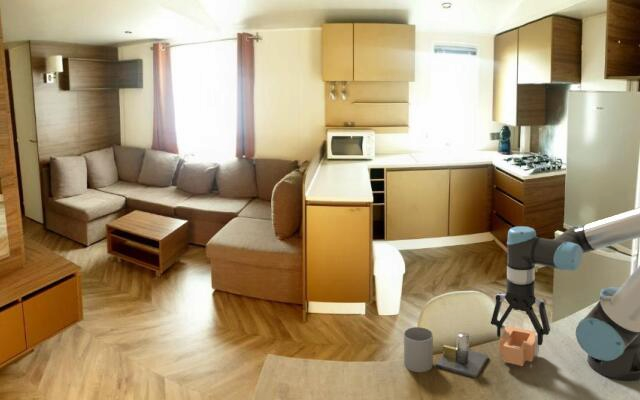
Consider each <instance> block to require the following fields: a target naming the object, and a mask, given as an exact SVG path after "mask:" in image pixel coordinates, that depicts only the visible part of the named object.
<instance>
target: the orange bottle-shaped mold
mask: <svg viewBox="0 0 640 400" xmlns="http://www.w3.org/2000/svg"><path fill="white" fill-rule="evenodd" d="M535 334H536V331H535V330H529V329H524V328H518V327H513V326H508V325H507V327H506V328H505V332H504V334H503V335H502V337H501V339H500V338H499V355H500V356H502V362H504V363H506V364H507V363H509V364H512V365H517V366H521V367H523V366H524V365H525V362H526V361H527V362H530V363H532V362H533V360H534V358H535V356H534V346H535Z"/></svg>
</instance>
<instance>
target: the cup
mask: <svg viewBox="0 0 640 400" xmlns="http://www.w3.org/2000/svg"><path fill="white" fill-rule="evenodd" d="M433 361H434V333H433V332H432V330H430V329H428V328H426V327H421V326H416V327H415V326H413V327H409V328H407V329H406V330H404V332H403V363H404V364H403V366H404V367H405V368H406V369H407V370H409V371H411V372H415V373H425V372H428V371H430V370H431V369H432V368H433V365H434V362H433Z"/></svg>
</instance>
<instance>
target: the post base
mask: <svg viewBox="0 0 640 400" xmlns="http://www.w3.org/2000/svg"><path fill="white" fill-rule="evenodd" d="M469 346H470V335H469V333H467V332H464V331H463V332H462V331H461V332H457V333H456V346H454V345H446V344H444V345H443V346H442V355H441V356H440V358H439V359H438V360H437V362H436V363H435V368H437V369H442V370H444V371H450V372H453V373H456V374H460V375H463V376H467V377H469V378H470V377H472V378H474V379H477V377H478V376H479V374H480V372H482V369H483V368H484V366H485V364H486V362H487V361H488V360H489V354H486V353H481V352H479V351H473V350H470V349H469V348H470V347H469Z"/></svg>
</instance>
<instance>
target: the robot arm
mask: <svg viewBox="0 0 640 400" xmlns="http://www.w3.org/2000/svg"><path fill="white" fill-rule="evenodd" d="M639 238H640V207H637V208H633V209H630V210H627V211H624V212H621V213H618V214H615V215H612V216H608V217H606V218H601V219H599V220H595V221H592V222H590V223H586V224H584V225H576V226H573V227H570V228H567V230H565V231H564V232H563V233H561V234H560V235H558V236H557V237H554V238H553V239H550V238H544V237H539V236H537V232H536V230H535V228H533V227H530V226H521V225H520V226H514V227H511V228H509V230H508V232H507V241H506V247H507V250H506V251H507V252H506V253H507V254H506V256H507V260H506V264H507V265H506V279H507V280H506V293H504V294H502V292H498V293H496V295H495V296H494V297H495V305H494V309H493V312H492V316H491V320H490V324H491V325H492V326H495V327H496V335H497V337H498V338H499V340H500V339H501V337H502V335H503V334H504V332H505V330H506V325H505V324H504V322H505V321H506V319H507V318H508V317H509V315H510V313H511V312H512V311H513V310H514V311H521V312H525V314H526V315H527V316H528V318H529V320H530V322H531V324H532V326H533V328H534V331H535V332H536V334H535V346H534V357H538V355H539V353H540V346H542V344H544V343H543V342H544V335H545V336H548V335H549V333H550V332H551V327H550V323H549V319H548V314H547V310H546V304H547V300H546V299H538V298H536V296H535V278H536V276H535V274H536V273H535V272H536V265H540V266H544V267H547V268H548V267H549V268H553V269H558V270H560V271H569V272H570V271H571V272H575V271H577V270H578V269H579V268H580V265H581V264H582V261H583V254H586V253H589V252H593V251H598V250H599V249H603V248H607V247H610V246H615V245H618V244H622V243H624V242H629V241H632V240H636V239H639ZM504 300H506V302H507V303H508V304H509V305H508V307H507V308H506V310H505V312H504V313H503V314H502V316H501V318H500V319H498V318H499V314H500V311H501V307H502V304H503V302H504ZM533 305H536V307H537V308H538V312H539V317H540V320H541V321H539V318H538V317H537V315H536V313H535V311H534V307H533ZM540 322H541V323H540ZM575 337H576V341H577V343H578V345H579V347H580V348H581V349H582V350H583V352H585V353H586V354H587V359H586V360H587V363H588V366H589V367H590V368H591V369H593V370H594V371H596V372H597V373H599V374H601V375H603V376H605V377H608V378H611V379H615V380H619V381H636V380H640V265H639V266H638V267H637V268H636V269H635V270H634V271H633V272H632V274H631V275H630V276H629V277H628V278H627V279H626V280H625V281H624V283H623V284H621V286H620V287H616V286H609V287H607V286H606V287H604V288H602V289H601V290H600V294H599V301H598V302H597V304H595V306H593V308H592V309H591V310H590V311H589V312H588V314H587V315H586V316H584V318H582V319H581V320H579V322H578V323H577V326H576V329H575Z"/></svg>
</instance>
